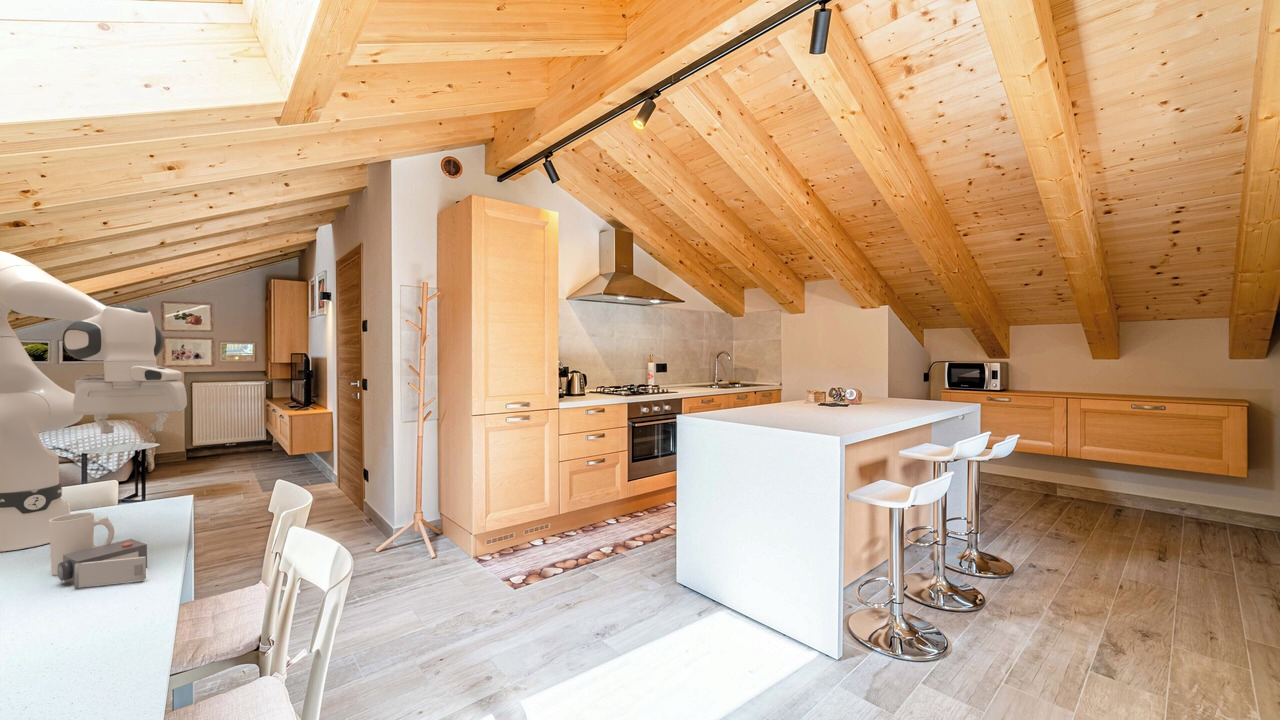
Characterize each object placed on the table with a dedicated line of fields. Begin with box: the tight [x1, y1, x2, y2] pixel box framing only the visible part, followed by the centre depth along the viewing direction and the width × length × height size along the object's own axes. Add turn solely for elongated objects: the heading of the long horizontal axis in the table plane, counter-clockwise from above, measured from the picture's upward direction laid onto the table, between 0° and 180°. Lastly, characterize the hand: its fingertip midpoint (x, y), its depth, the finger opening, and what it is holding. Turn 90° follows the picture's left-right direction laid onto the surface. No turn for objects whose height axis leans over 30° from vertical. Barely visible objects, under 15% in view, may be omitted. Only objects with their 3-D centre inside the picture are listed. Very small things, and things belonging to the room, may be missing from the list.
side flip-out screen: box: [74, 556, 147, 589], centre depth 108 cm, size 1×12×5 cm, turn 108°
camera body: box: [58, 538, 148, 587], centre depth 113 cm, size 8×12×6 cm, turn 153°
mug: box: [49, 511, 116, 577], centre depth 117 cm, size 10×7×12 cm, turn 130°
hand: (132, 432), depth 122 cm, fingers open, 8 cm apart
